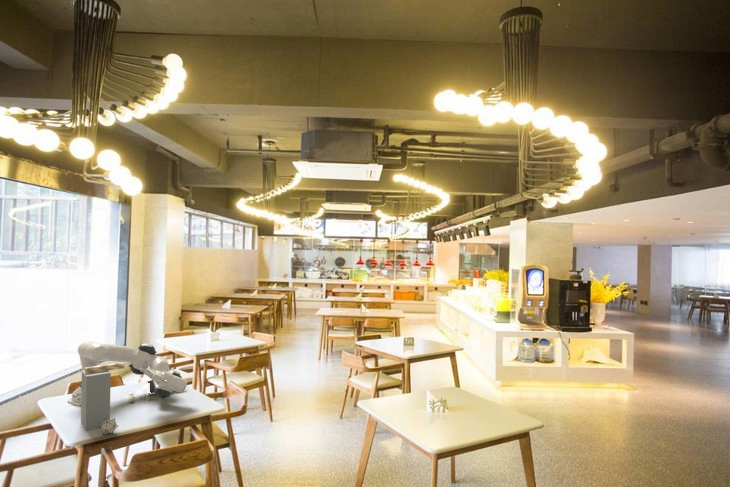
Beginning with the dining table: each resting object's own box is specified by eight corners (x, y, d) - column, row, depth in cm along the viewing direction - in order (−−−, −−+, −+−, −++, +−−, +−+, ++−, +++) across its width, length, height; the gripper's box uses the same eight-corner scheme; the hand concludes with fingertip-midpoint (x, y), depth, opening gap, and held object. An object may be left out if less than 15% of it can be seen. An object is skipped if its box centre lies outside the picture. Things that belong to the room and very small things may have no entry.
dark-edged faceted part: (109, 441, 246) (104, 431, 240) (98, 434, 249) (93, 423, 243) (123, 429, 253) (119, 418, 247) (113, 421, 256) (109, 411, 250)
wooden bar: (123, 367, 273) (123, 362, 273) (124, 368, 271) (124, 363, 271) (84, 372, 260) (84, 367, 261) (85, 373, 258) (85, 368, 258)
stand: (104, 417, 272) (105, 367, 273) (109, 425, 260) (110, 372, 261) (81, 422, 264) (81, 370, 265) (85, 430, 252) (86, 376, 253)
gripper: (164, 387, 277) (143, 379, 269) (155, 380, 293) (135, 372, 285) (170, 377, 279) (149, 369, 272) (160, 370, 295) (140, 363, 287)
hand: (142, 370), depth 278 cm, fingers open, 8 cm apart
